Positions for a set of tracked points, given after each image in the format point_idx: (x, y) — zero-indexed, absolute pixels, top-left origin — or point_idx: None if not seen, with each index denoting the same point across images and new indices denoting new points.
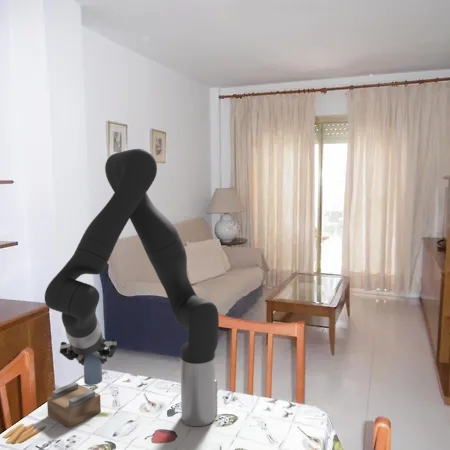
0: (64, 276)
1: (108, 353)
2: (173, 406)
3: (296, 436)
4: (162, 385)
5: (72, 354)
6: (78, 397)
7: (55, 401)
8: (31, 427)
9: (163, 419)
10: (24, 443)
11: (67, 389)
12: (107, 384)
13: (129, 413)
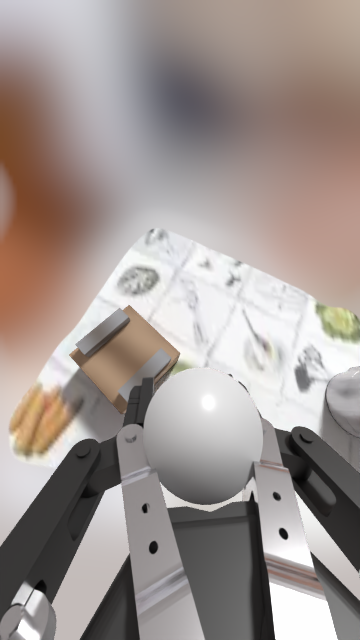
0: None
1: (305, 496)
2: (301, 359)
3: None
4: (267, 288)
5: (92, 488)
6: (138, 381)
7: (88, 369)
8: (57, 399)
9: (294, 401)
10: (49, 459)
11: (108, 335)
12: (174, 271)
13: (230, 372)
